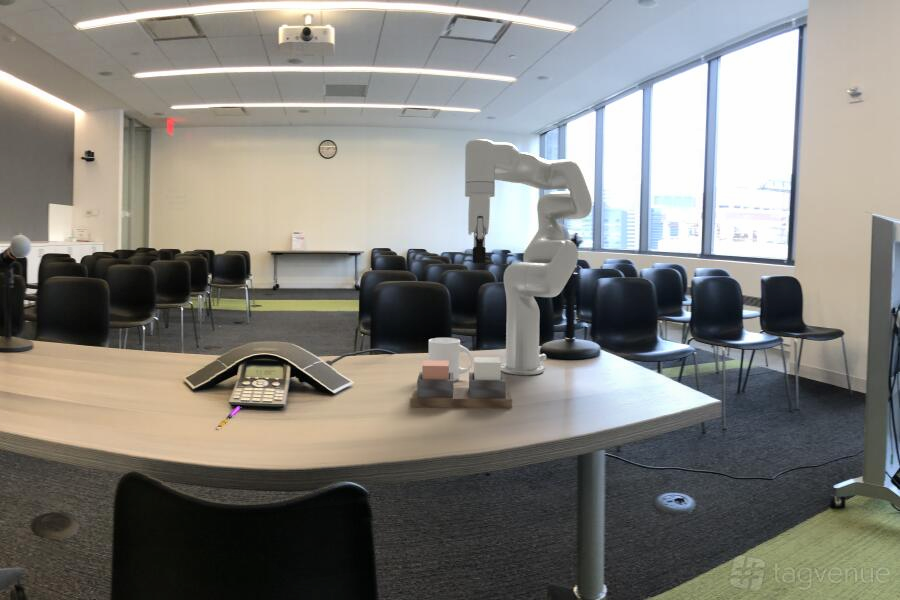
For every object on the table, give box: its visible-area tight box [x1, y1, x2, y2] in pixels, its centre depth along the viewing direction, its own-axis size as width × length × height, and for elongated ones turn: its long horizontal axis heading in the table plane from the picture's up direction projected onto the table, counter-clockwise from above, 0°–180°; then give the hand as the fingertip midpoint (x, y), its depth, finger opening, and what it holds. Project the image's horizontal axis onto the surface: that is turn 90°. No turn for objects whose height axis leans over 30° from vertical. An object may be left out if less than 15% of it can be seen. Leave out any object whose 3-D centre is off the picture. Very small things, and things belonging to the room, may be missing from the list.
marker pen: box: [217, 406, 242, 427], centre depth 122 cm, size 3×1×16 cm
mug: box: [428, 337, 473, 382], centre depth 156 cm, size 9×12×11 cm
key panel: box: [410, 371, 513, 409], centre depth 134 cm, size 23×10×6 cm, turn 89°
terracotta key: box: [421, 359, 449, 380], centre depth 134 cm, size 6×6×6 cm
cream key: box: [473, 356, 502, 380], centre depth 134 cm, size 6×6×6 cm
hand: (479, 262), depth 146 cm, fingers closed
